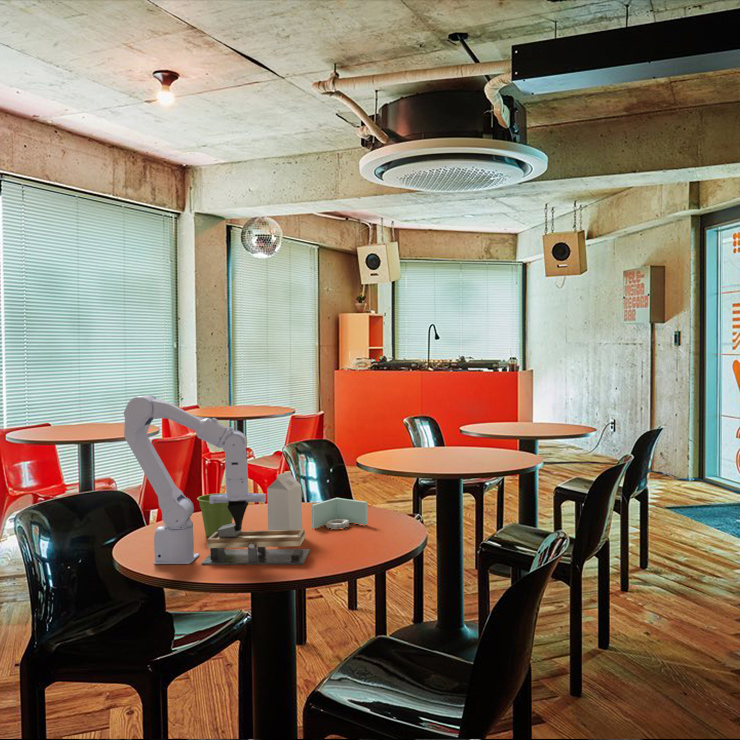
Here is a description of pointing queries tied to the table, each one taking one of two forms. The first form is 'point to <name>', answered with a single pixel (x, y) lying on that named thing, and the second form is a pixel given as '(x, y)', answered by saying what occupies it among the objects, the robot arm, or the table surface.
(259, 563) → the beam stand
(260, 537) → the beam
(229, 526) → the block
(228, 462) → the robot arm
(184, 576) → the table surface
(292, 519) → the milk carton
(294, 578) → the table surface
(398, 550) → the table surface
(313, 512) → the right angle wall
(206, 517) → the plant pot
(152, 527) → the table surface
